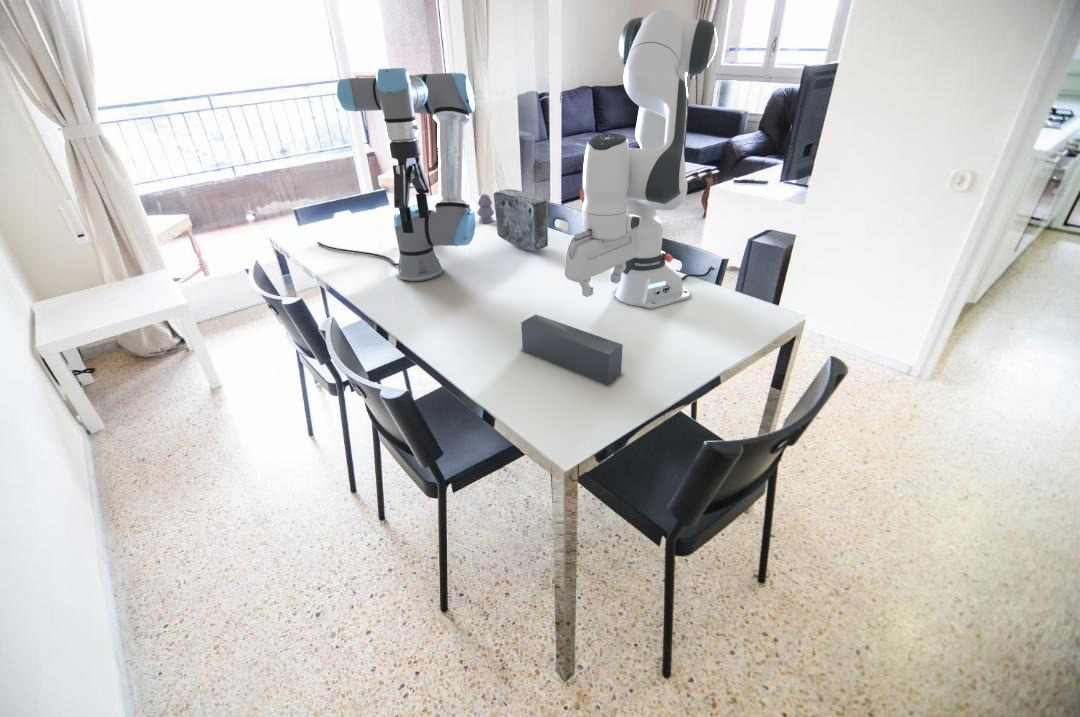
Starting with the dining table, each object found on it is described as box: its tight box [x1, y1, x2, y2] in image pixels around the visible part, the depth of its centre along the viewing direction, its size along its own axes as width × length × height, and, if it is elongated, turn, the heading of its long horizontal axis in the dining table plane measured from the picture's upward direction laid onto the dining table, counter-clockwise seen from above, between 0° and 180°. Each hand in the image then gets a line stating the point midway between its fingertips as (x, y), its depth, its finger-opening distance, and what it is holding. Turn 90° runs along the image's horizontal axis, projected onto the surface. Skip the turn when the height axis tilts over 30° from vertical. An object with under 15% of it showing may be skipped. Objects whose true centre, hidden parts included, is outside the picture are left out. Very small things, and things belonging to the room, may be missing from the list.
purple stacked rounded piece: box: [476, 193, 495, 224], centre depth 226 cm, size 8×8×12 cm
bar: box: [520, 313, 624, 386], centre depth 120 cm, size 26×6×8 cm, turn 50°
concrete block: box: [493, 188, 549, 252], centre depth 191 cm, size 27×9×20 cm, turn 36°
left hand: (417, 225), depth 134 cm, fingers open, 13 cm apart
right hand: (602, 288), depth 106 cm, fingers open, 8 cm apart
